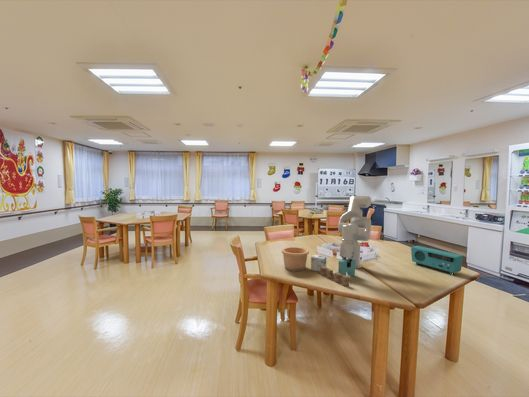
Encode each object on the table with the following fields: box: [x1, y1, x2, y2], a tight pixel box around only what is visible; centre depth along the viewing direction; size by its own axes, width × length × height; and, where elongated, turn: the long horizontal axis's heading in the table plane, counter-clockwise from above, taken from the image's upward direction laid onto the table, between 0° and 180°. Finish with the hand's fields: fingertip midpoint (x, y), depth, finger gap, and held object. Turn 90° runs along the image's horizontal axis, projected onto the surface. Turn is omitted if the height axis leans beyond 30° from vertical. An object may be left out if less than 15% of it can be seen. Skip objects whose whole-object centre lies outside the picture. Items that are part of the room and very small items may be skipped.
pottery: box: [281, 246, 310, 272], centre depth 193 cm, size 22×22×14 cm
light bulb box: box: [310, 254, 327, 272], centre depth 188 cm, size 11×7×11 cm, turn 59°
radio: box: [410, 245, 464, 275], centre depth 192 cm, size 34×10×15 cm, turn 27°
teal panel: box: [337, 258, 356, 277], centre depth 175 cm, size 14×3×12 cm, turn 119°
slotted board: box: [319, 266, 350, 287], centre depth 168 cm, size 24×3×6 cm, turn 29°
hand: (346, 266), depth 175 cm, fingers closed on teal panel, 3 cm apart
